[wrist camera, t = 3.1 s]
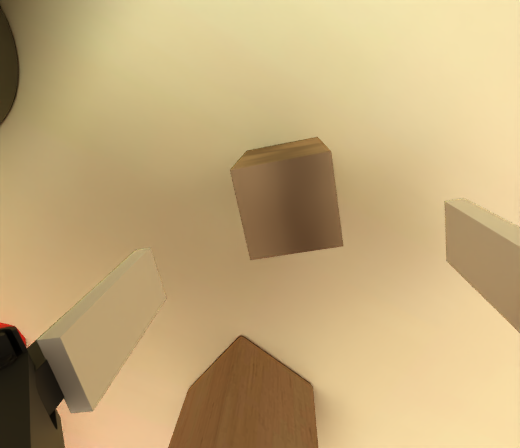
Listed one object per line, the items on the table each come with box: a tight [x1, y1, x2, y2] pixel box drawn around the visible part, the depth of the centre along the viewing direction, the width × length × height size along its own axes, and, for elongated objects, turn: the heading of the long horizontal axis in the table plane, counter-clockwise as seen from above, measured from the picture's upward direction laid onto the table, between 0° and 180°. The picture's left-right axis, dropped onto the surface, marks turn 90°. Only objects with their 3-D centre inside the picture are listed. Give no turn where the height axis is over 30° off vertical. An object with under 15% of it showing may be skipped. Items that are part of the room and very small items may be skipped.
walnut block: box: [230, 137, 343, 260], centre depth 25 cm, size 6×6×9 cm
